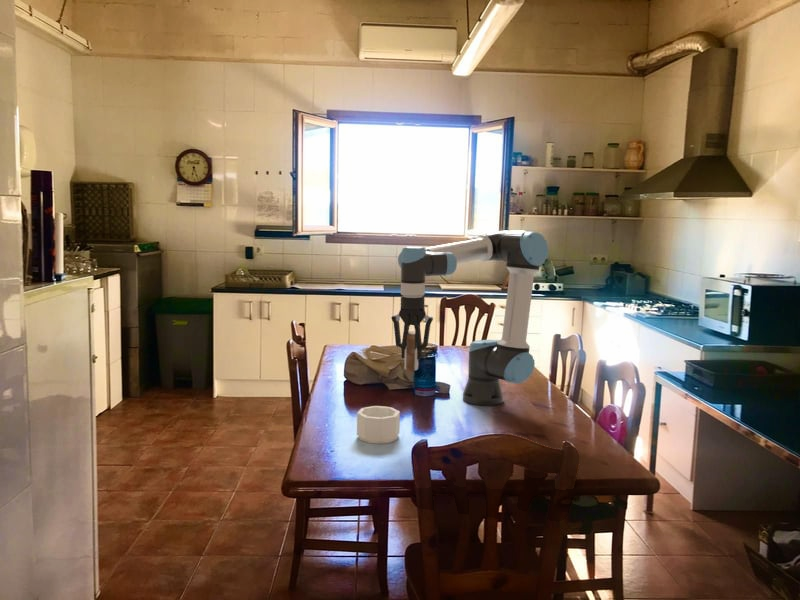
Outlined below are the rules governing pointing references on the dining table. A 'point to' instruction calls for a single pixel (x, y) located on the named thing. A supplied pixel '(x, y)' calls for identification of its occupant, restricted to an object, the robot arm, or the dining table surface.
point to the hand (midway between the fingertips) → (411, 368)
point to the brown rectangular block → (410, 351)
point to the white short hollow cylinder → (378, 424)
